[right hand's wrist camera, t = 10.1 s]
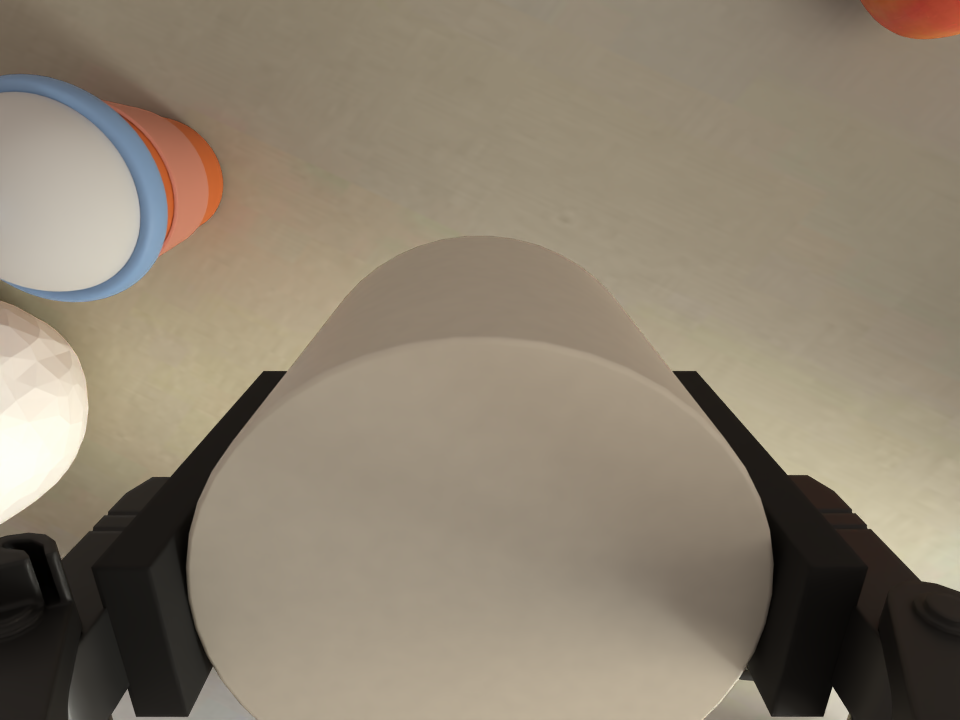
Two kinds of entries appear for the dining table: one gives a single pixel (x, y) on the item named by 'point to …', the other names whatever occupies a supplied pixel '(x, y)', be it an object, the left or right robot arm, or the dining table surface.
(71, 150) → the cup with straw
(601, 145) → the dining table surface
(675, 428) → the cylinder
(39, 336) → the skull
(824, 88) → the dining table surface
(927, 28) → the apple
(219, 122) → the dining table surface
